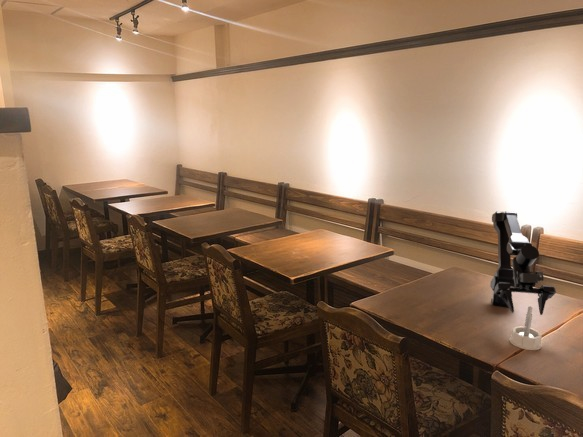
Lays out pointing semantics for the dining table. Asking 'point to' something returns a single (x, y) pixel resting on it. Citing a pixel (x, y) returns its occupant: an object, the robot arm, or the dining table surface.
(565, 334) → the dining table surface
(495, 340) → the dining table surface
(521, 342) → the white pet bowl
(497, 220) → the robot arm
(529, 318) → the screw
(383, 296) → the dining table surface
